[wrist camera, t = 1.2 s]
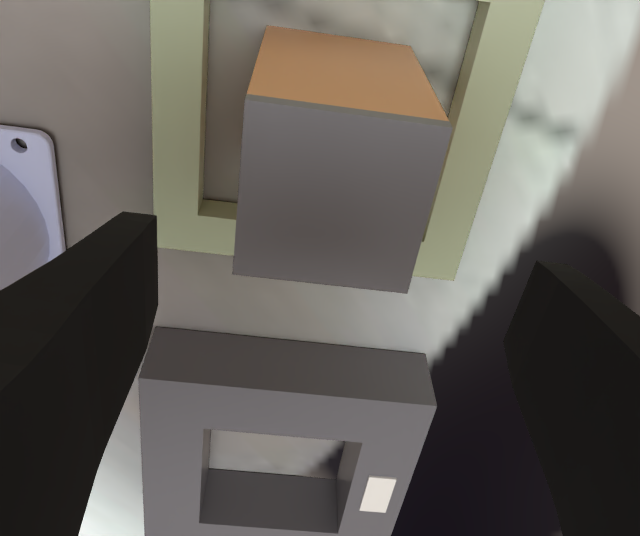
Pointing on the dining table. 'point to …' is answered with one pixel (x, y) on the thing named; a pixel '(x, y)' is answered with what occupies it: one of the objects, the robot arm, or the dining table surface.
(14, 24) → the dining table surface
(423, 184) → the plug
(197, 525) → the socket block
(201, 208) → the tray
